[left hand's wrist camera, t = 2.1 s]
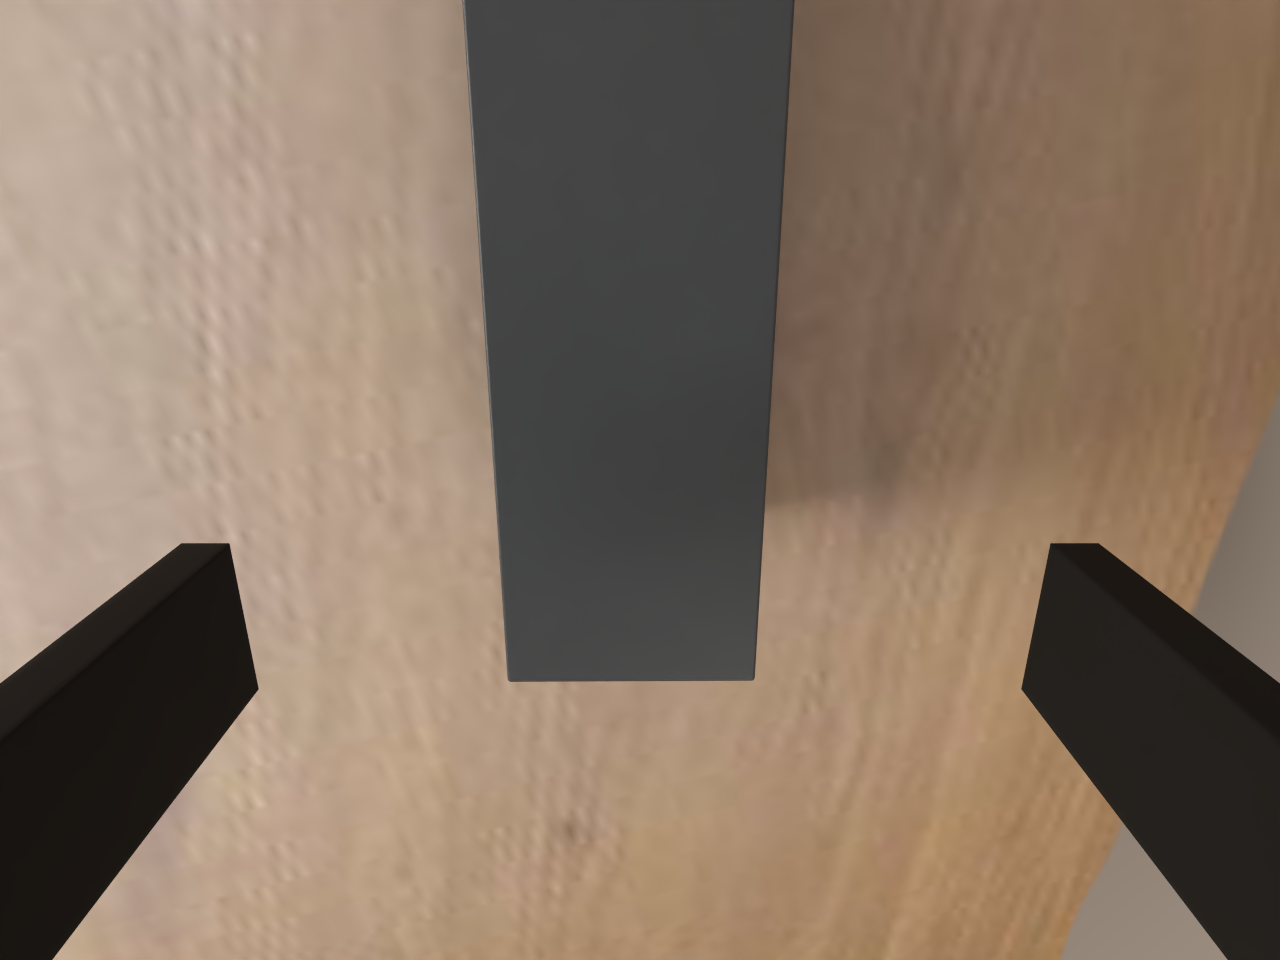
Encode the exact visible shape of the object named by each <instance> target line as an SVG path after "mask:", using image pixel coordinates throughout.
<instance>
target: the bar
mask: <svg viewBox="0 0 1280 960" xmlns="http://www.w3.org/2000/svg"><path fill="white" fill-rule="evenodd" d="M462 1H463V16H464V31H465V45H466V60H467V75H468V90H469V105H470V120H471V135H472V150H473V165H474V180H475V195H476V210H477V225H478V240H479V255H480V270H481V285H482V300H483V315H484V330H485V345H486V360H487V375H488V390H489V405H490V420H491V435H492V450H493V465H494V480H495V495H496V510H497V525H498V540H499V555H500V570H501V585H502V600H503V615H504V630H505V645H506V660H507V675H508V680H509V681H510V682H543V681H751V680H754V678H755V663H756V646H757V629H758V612H759V595H760V578H761V561H762V544H763V527H764V510H765V493H766V476H767V459H768V442H769V425H770V408H771V391H772V374H773V357H774V340H775V323H776V306H777V289H778V272H779V255H780V238H781V221H782V204H783V187H784V170H785V153H786V136H787V119H788V102H789V85H790V68H791V51H792V35H793V18H794V1H795V0H462Z"/></svg>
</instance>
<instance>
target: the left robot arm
mask: <svg viewBox="0 0 1280 960" xmlns="http://www.w3.org/2000/svg"><path fill="white" fill-rule="evenodd" d="M257 691H258V684H257V679H256V674H255V669H254V664H253V659H252V654H251V649H250V644H249V639H248V634H247V629H246V624H245V619H244V614H243V609H242V604H241V599H240V594H239V589H238V584H237V579H236V574H235V569H234V564H233V559H232V554H231V549H230V544H229V543H181V544H180V545H179V546H177V547H176V548H175V549H174V550H172V551H171V552H170V553H168V554H167V555H166V556H165V557H163V558H162V559H161V560H159V561H158V562H157V563H155V564H154V565H153V566H152V567H150V568H149V569H148V570H146V571H145V572H144V573H143V574H141V575H140V576H139V577H137V578H136V579H135V580H133V581H132V582H131V583H130V584H128V585H127V586H126V587H124V588H123V589H122V590H121V591H119V592H118V593H117V594H115V595H114V596H113V597H111V598H110V599H109V600H108V601H106V602H105V603H104V604H102V605H101V606H100V607H99V608H97V609H96V610H95V611H93V612H92V613H91V614H89V615H88V616H87V617H86V618H84V619H83V620H82V621H80V622H79V623H78V624H77V625H75V626H74V627H73V628H71V629H70V630H69V631H67V632H66V633H65V634H64V635H62V636H61V637H60V638H58V639H57V640H56V641H55V642H53V643H52V644H51V645H49V646H48V647H47V648H45V649H44V650H43V651H42V652H40V653H39V654H38V655H36V656H35V657H34V658H33V659H31V660H30V661H29V662H27V663H26V664H25V665H23V666H22V667H21V668H20V669H18V670H17V671H16V672H14V673H13V674H12V675H11V676H9V677H8V678H7V679H5V680H4V681H3V682H1V683H0V960H52V959H53V958H54V957H55V955H56V954H57V953H58V952H59V950H60V949H61V948H62V946H63V945H64V944H65V942H66V941H67V940H68V938H69V937H70V936H71V934H72V933H73V932H74V931H75V929H76V928H77V927H78V925H79V924H80V923H81V921H82V920H83V919H84V917H85V916H86V915H87V913H88V912H89V911H90V910H91V908H92V907H93V906H94V904H95V903H96V902H97V900H98V899H99V898H100V896H101V895H102V894H103V892H104V891H105V890H106V889H107V887H108V886H109V885H110V883H111V882H112V881H113V879H114V878H115V877H116V875H117V874H118V873H119V872H120V870H121V869H122V868H123V866H124V865H125V864H126V862H127V861H128V860H129V858H130V857H131V856H132V854H133V853H134V852H135V851H136V849H137V848H138V847H139V845H140V844H141V843H142V841H143V840H144V839H145V837H146V836H147V835H148V833H149V832H150V831H151V830H152V828H153V827H154V826H155V824H156V823H157V822H158V820H159V819H160V818H161V816H162V815H163V814H164V813H165V811H166V810H167V809H168V807H169V806H170V805H171V803H172V802H173V801H174V799H175V798H176V797H177V795H178V794H179V793H180V792H181V790H182V789H183V788H184V786H185V785H186V784H187V782H188V781H189V780H190V778H191V777H192V776H193V774H194V773H195V772H196V771H197V769H198V768H199V767H200V765H201V764H202V763H203V761H204V760H205V759H206V757H207V756H208V755H209V753H210V752H211V751H212V750H213V748H214V747H215V746H216V744H217V743H218V742H219V740H220V739H221V738H222V736H223V735H224V734H225V733H226V731H227V730H228V729H229V727H230V726H231V725H232V723H233V722H234V721H235V719H236V718H237V717H238V715H239V714H240V713H241V712H242V710H243V709H244V708H245V706H246V705H247V704H248V702H249V701H250V700H251V698H252V697H253V696H254V694H255V693H256V692H257ZM1022 691H1023V692H1024V693H1025V694H1026V696H1027V697H1028V698H1029V700H1030V701H1031V702H1032V704H1033V705H1034V706H1035V708H1036V709H1037V710H1038V712H1039V713H1040V714H1041V715H1042V717H1043V718H1044V719H1045V721H1046V722H1047V723H1048V725H1049V726H1050V727H1051V729H1052V730H1053V731H1054V733H1055V734H1056V735H1057V736H1058V738H1059V739H1060V740H1061V742H1062V743H1063V744H1064V746H1065V747H1066V748H1067V750H1068V751H1069V752H1070V753H1071V755H1072V756H1073V757H1074V759H1075V760H1076V761H1077V763H1078V764H1079V765H1080V767H1081V768H1082V769H1083V771H1084V772H1085V773H1086V774H1087V776H1088V777H1089V778H1090V780H1091V781H1092V782H1093V784H1094V785H1095V786H1096V788H1097V789H1098V790H1099V792H1100V793H1101V794H1102V795H1103V797H1104V798H1105V799H1106V801H1107V802H1108V803H1109V805H1110V806H1111V807H1112V809H1113V810H1114V811H1115V813H1116V814H1117V815H1118V816H1119V818H1120V819H1121V820H1122V822H1123V823H1124V824H1125V826H1126V827H1127V828H1128V830H1129V831H1130V832H1131V833H1132V835H1133V836H1134V837H1135V839H1136V840H1137V841H1138V843H1139V844H1140V845H1141V847H1142V848H1143V849H1144V851H1145V852H1146V853H1147V854H1148V856H1149V857H1150V858H1151V860H1152V861H1153V862H1154V864H1155V865H1156V866H1157V868H1158V869H1159V870H1160V872H1161V873H1162V874H1163V875H1164V877H1165V878H1166V879H1167V881H1168V882H1169V883H1170V885H1171V886H1172V887H1173V889H1174V890H1175V891H1176V892H1177V894H1178V895H1179V896H1180V898H1181V899H1182V900H1183V902H1184V903H1185V904H1186V906H1187V907H1188V908H1189V910H1190V911H1191V912H1192V913H1193V915H1194V916H1195V917H1196V919H1197V920H1198V921H1199V923H1200V924H1201V925H1202V927H1203V928H1204V929H1205V931H1206V932H1207V933H1208V934H1209V936H1210V937H1211V938H1212V940H1213V941H1214V942H1215V944H1216V945H1217V946H1218V948H1219V949H1220V950H1221V951H1222V953H1223V954H1224V955H1225V957H1226V958H1227V959H1228V960H1280V683H1279V682H1277V681H1276V680H1275V679H1273V678H1272V677H1271V676H1269V675H1268V674H1267V673H1266V672H1264V671H1263V670H1262V669H1260V668H1259V667H1258V666H1257V665H1255V664H1254V663H1253V662H1251V661H1250V660H1249V659H1247V658H1246V657H1245V656H1244V655H1242V654H1241V653H1240V652H1238V651H1237V650H1236V649H1234V648H1233V647H1232V646H1231V645H1229V644H1228V643H1227V642H1225V641H1224V640H1223V639H1222V638H1220V637H1219V636H1218V635H1216V634H1215V633H1214V632H1213V631H1211V630H1210V629H1208V628H1207V627H1206V626H1205V625H1203V624H1202V623H1201V622H1199V621H1198V620H1197V619H1196V618H1194V617H1193V616H1192V615H1191V614H1189V613H1188V612H1187V611H1185V610H1184V609H1183V608H1181V607H1180V606H1179V605H1178V604H1176V603H1175V602H1174V601H1172V600H1171V599H1170V598H1169V597H1167V596H1166V595H1165V594H1163V593H1162V592H1161V591H1159V590H1158V589H1157V588H1156V587H1154V586H1153V585H1152V584H1150V583H1149V582H1148V581H1147V580H1145V579H1144V578H1143V577H1141V576H1140V575H1139V574H1137V573H1136V572H1135V571H1134V570H1132V569H1131V568H1130V567H1128V566H1127V565H1126V564H1125V563H1123V562H1122V561H1121V560H1119V559H1118V558H1117V557H1115V556H1114V555H1113V554H1112V553H1110V552H1109V551H1108V550H1106V549H1105V548H1104V547H1103V546H1101V545H1100V544H1099V543H1051V544H1050V549H1049V554H1048V559H1047V564H1046V569H1045V574H1044V579H1043V584H1042V589H1041V594H1040V599H1039V604H1038V609H1037V614H1036V619H1035V624H1034V629H1033V634H1032V639H1031V644H1030V649H1029V654H1028V659H1027V664H1026V669H1025V674H1024V679H1023V684H1022Z"/></svg>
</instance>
